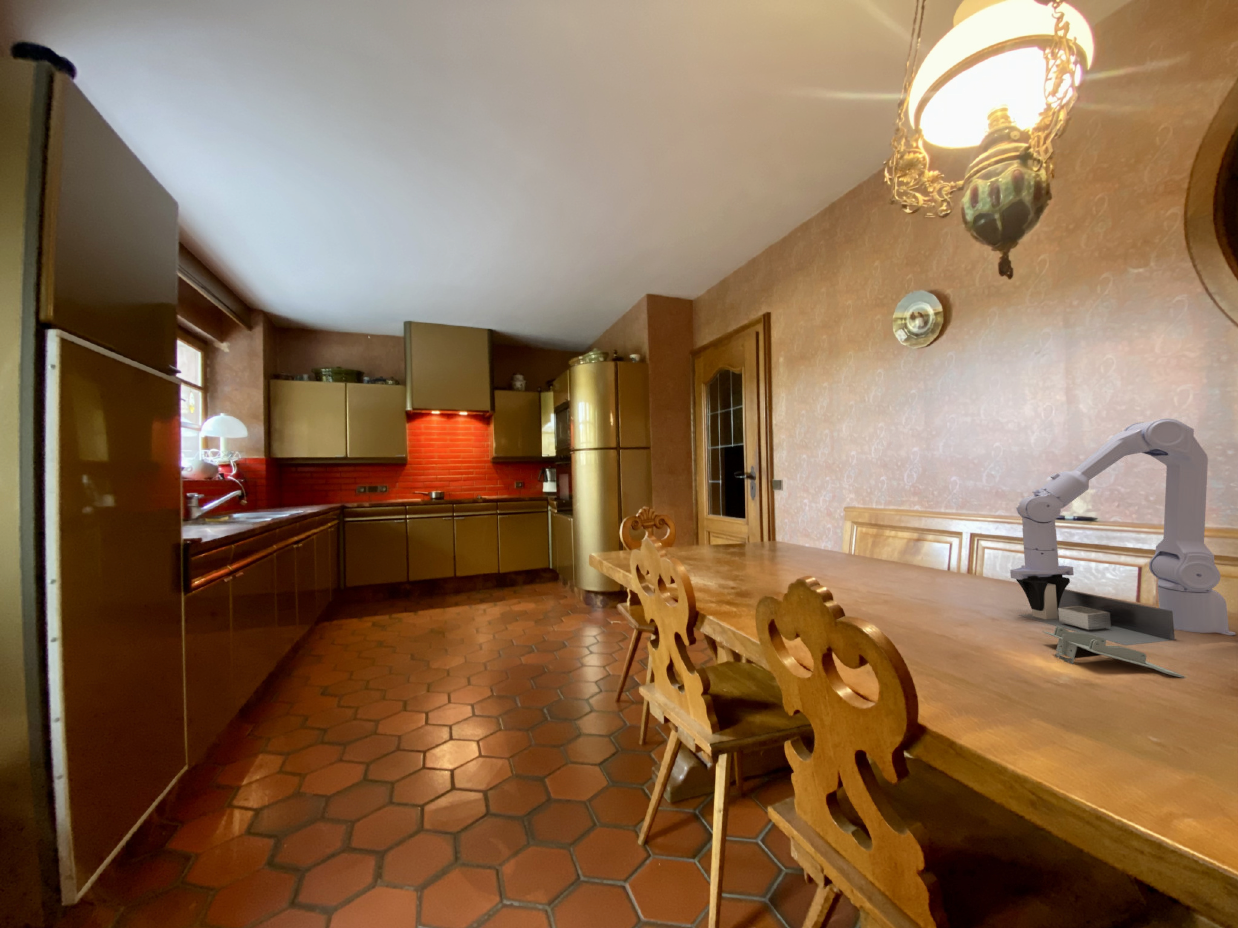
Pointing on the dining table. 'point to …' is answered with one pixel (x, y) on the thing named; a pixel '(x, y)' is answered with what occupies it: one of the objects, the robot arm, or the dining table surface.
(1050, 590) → the beige rectangular block
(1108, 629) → the mounting board
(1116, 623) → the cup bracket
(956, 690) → the dining table surface
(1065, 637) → the metal bracket
